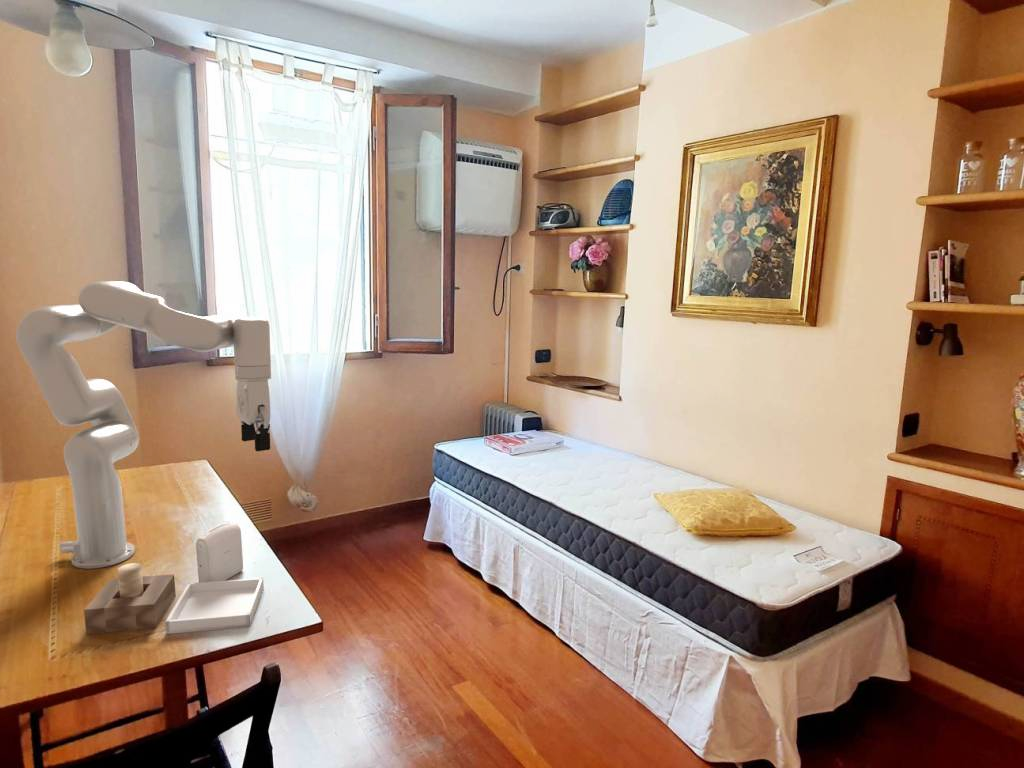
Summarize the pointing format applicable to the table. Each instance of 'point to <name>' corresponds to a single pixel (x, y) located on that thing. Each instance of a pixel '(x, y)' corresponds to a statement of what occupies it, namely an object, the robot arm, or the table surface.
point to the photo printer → (219, 553)
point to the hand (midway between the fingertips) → (255, 445)
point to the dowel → (130, 580)
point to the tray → (215, 605)
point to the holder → (130, 606)
